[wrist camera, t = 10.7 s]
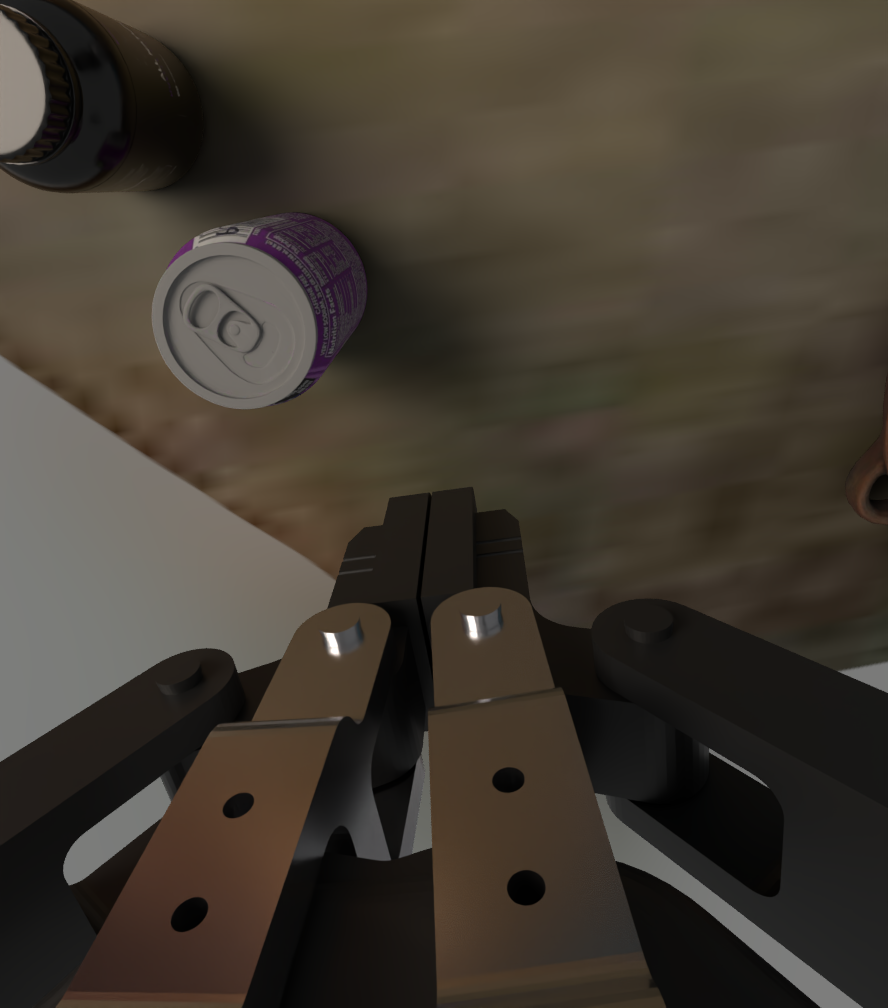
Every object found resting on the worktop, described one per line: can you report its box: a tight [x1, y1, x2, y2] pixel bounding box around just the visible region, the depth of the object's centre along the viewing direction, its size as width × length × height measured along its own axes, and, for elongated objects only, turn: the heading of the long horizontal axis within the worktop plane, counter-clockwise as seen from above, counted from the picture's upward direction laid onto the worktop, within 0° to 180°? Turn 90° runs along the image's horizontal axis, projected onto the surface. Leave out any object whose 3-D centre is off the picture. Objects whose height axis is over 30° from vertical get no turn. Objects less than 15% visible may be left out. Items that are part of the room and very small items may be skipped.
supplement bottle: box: [0, 0, 204, 193], centre depth 29 cm, size 7×7×12 cm
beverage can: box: [152, 213, 367, 409], centre depth 32 cm, size 7×7×12 cm
